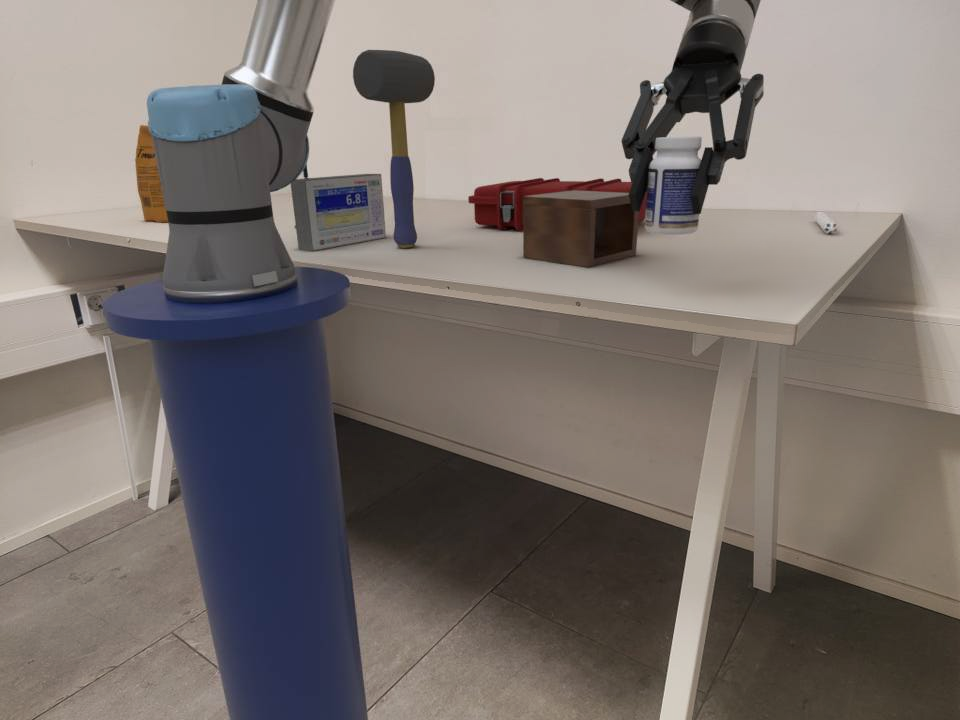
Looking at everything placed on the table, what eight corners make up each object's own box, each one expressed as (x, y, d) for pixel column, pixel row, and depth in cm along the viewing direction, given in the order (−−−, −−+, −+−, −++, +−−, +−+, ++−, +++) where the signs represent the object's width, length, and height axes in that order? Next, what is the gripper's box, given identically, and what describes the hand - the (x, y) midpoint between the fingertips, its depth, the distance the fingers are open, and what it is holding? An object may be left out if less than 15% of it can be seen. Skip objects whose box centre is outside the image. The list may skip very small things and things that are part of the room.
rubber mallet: (397, 255, 98) (383, 43, 88) (363, 251, 102) (346, 49, 92) (446, 243, 107) (437, 52, 97) (413, 240, 111) (401, 56, 101)
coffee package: (172, 216, 159) (155, 125, 152) (205, 218, 153) (189, 123, 146) (136, 221, 151) (117, 124, 143) (170, 223, 145) (151, 123, 138)
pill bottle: (706, 231, 69) (717, 136, 66) (681, 237, 65) (690, 136, 62) (660, 226, 73) (668, 136, 69) (633, 232, 69) (640, 137, 66)
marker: (837, 236, 105) (840, 222, 104) (824, 235, 106) (826, 221, 105) (825, 222, 121) (827, 210, 120) (813, 222, 122) (815, 210, 121)
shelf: (523, 257, 93) (523, 196, 90) (572, 247, 101) (573, 190, 98) (588, 267, 85) (591, 200, 82) (636, 255, 93) (640, 193, 90)
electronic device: (313, 251, 103) (298, 123, 96) (288, 248, 107) (272, 124, 100) (388, 237, 116) (379, 123, 109) (363, 235, 120) (353, 124, 113)
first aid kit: (465, 229, 124) (463, 185, 121) (513, 216, 143) (513, 177, 140) (622, 237, 109) (625, 187, 107) (653, 221, 129) (656, 178, 126)
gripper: (799, 69, 71) (760, 231, 63) (639, 79, 80) (587, 222, 72) (803, 9, 65) (760, 181, 57) (629, 27, 74) (571, 178, 66)
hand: (664, 203), depth 65 cm, fingers closed on pill bottle, 6 cm apart
